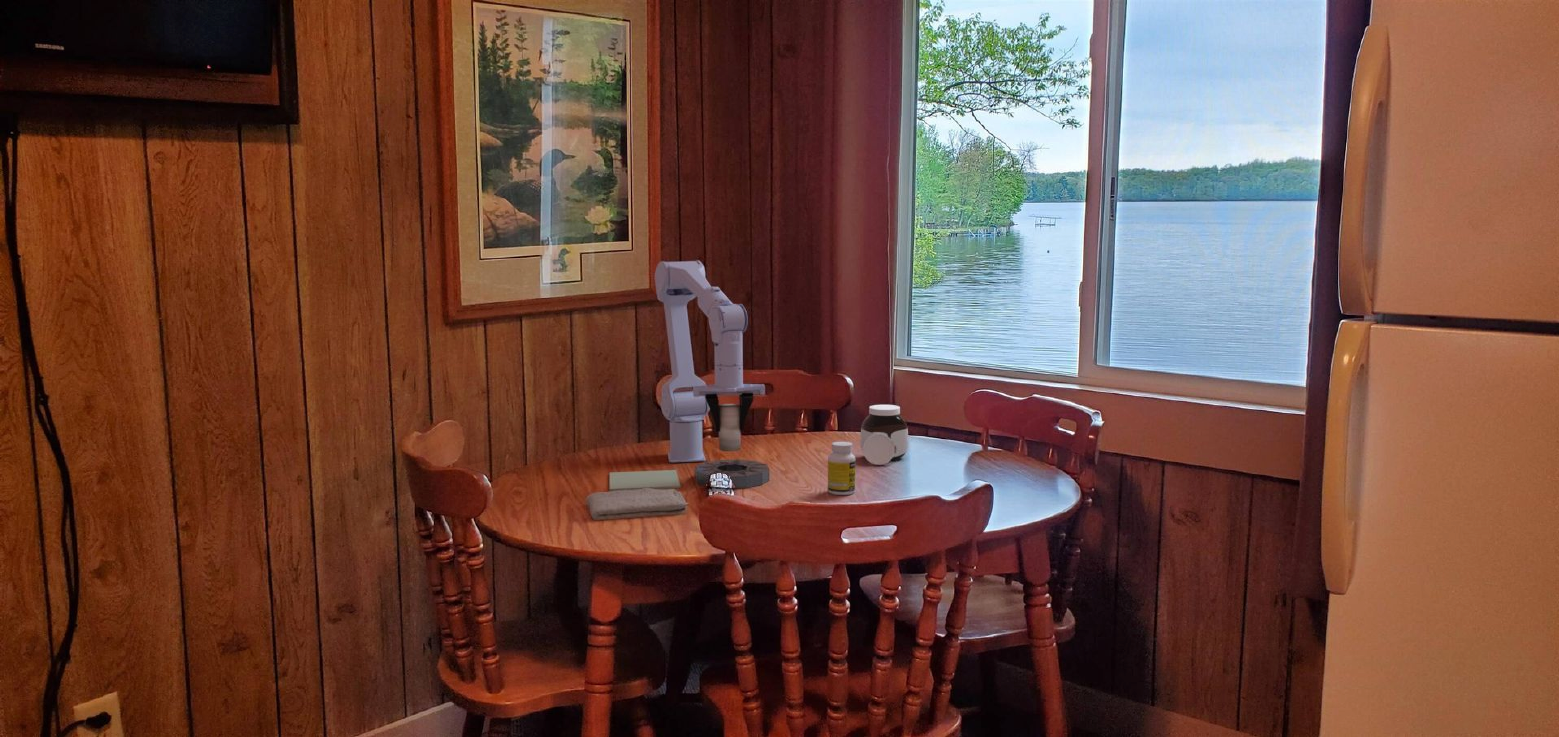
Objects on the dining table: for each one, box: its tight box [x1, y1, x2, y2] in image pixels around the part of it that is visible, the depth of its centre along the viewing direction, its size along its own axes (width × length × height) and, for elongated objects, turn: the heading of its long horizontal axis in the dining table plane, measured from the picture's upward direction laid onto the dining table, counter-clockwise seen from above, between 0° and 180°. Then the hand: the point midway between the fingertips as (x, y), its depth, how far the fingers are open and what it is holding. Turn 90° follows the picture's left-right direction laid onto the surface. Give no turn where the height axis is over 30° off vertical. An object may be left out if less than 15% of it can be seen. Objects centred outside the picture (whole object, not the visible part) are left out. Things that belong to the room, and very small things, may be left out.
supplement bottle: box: [827, 441, 856, 496], centre depth 212 cm, size 5×5×10 cm
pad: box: [609, 469, 681, 492], centre depth 223 cm, size 14×14×1 cm
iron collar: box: [694, 459, 770, 489], centre depth 224 cm, size 15×15×2 cm
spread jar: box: [860, 404, 909, 466], centre depth 240 cm, size 12×11×12 cm
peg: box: [718, 403, 741, 452], centre depth 222 cm, size 4×4×9 cm
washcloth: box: [585, 488, 689, 521], centre depth 202 cm, size 12×18×3 cm, turn 105°
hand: (729, 430), depth 222 cm, fingers closed on peg, 4 cm apart
